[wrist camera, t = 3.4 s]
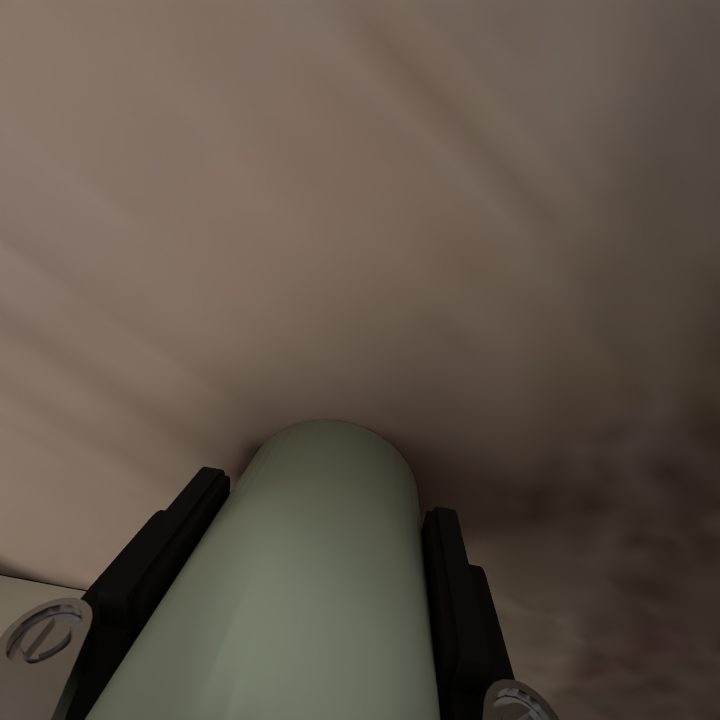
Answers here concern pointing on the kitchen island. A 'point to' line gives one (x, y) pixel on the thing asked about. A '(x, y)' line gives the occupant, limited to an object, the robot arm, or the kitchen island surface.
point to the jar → (295, 596)
